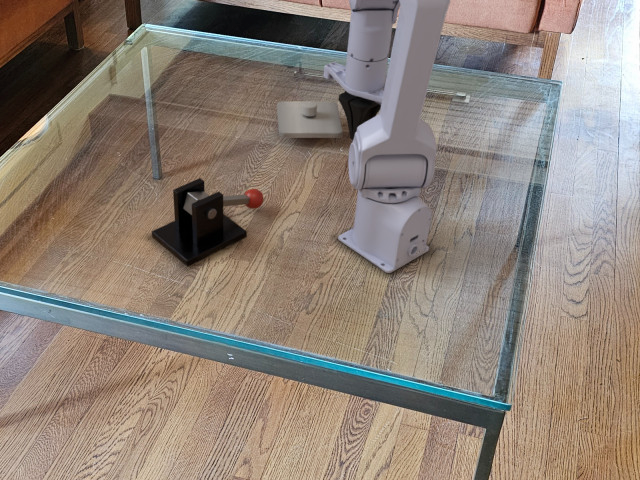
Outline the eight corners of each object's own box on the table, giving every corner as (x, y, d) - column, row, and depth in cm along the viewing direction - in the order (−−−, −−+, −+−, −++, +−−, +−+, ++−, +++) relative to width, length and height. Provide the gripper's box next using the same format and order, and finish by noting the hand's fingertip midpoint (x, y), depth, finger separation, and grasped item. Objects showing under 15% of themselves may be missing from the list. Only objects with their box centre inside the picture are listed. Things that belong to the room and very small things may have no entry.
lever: (251, 202, 118) (256, 184, 117) (264, 211, 117) (269, 193, 115) (181, 209, 110) (186, 189, 108) (194, 219, 108) (199, 199, 107)
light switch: (342, 148, 130) (345, 119, 126) (278, 148, 130) (279, 119, 126) (335, 116, 137) (338, 88, 134) (275, 116, 137) (276, 88, 134)
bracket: (210, 209, 118) (209, 165, 113) (246, 237, 113) (247, 192, 108) (151, 237, 113) (148, 192, 108) (187, 266, 108) (185, 221, 103)
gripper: (427, 63, 113) (412, 149, 123) (351, 27, 122) (343, 110, 131) (391, 78, 110) (379, 166, 119) (315, 40, 118) (309, 125, 128)
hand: (357, 138), depth 125 cm, fingers closed
